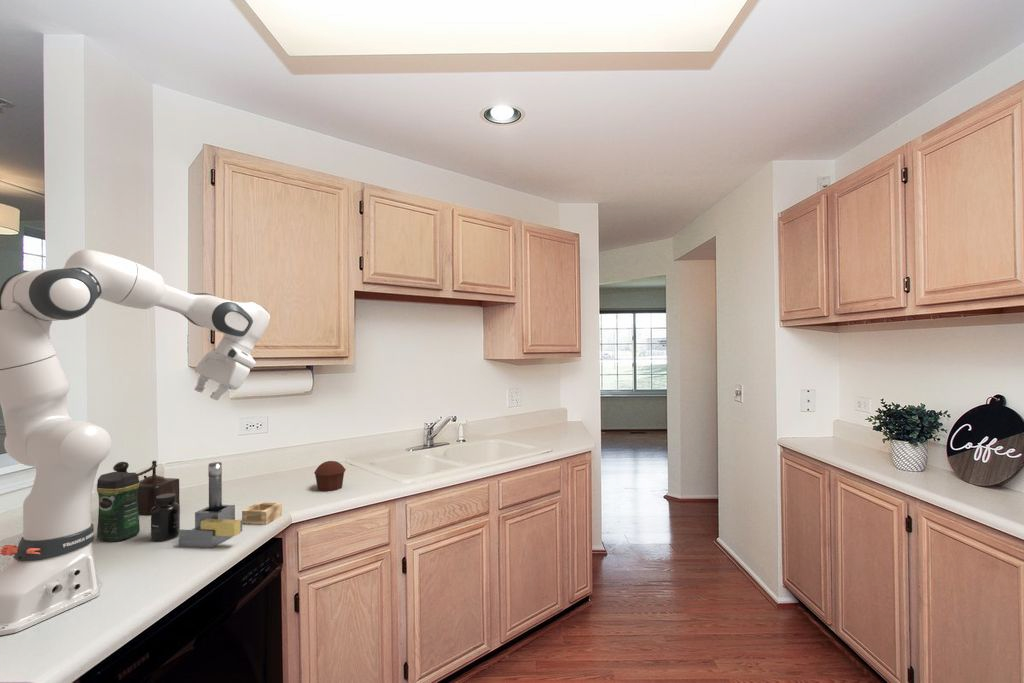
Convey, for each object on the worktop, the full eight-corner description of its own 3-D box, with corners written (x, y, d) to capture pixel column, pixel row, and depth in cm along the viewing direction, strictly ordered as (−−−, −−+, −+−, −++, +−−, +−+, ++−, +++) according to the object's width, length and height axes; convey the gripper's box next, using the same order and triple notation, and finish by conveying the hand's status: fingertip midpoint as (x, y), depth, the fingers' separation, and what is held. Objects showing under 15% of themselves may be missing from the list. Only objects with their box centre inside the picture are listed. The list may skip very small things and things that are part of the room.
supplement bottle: (146, 543, 136) (146, 500, 136) (157, 534, 143) (156, 493, 143) (174, 540, 138) (174, 498, 138) (183, 531, 144) (183, 491, 144)
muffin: (311, 486, 189) (311, 461, 189) (341, 482, 195) (340, 457, 195) (318, 494, 179) (318, 467, 179) (349, 489, 185) (348, 463, 185)
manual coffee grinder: (151, 504, 170) (151, 452, 170) (180, 505, 168) (180, 452, 168) (109, 520, 154) (109, 463, 154) (141, 521, 153) (141, 464, 153)
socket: (212, 548, 132) (212, 518, 132) (178, 546, 134) (178, 517, 134) (242, 531, 144) (241, 504, 144) (211, 529, 146) (210, 503, 146)
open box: (266, 524, 149) (266, 511, 149) (242, 523, 150) (241, 510, 150) (281, 515, 157) (281, 503, 157) (258, 514, 158) (258, 502, 158)
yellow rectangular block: (234, 536, 132) (234, 523, 132) (200, 534, 134) (200, 521, 134) (240, 532, 135) (240, 519, 135) (207, 531, 136) (207, 518, 136)
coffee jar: (145, 532, 144) (145, 469, 144) (119, 543, 136) (118, 476, 136) (118, 530, 146) (118, 468, 146) (90, 541, 138) (90, 475, 138)
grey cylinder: (216, 528, 139) (216, 465, 139) (205, 528, 139) (205, 464, 139) (224, 524, 142) (224, 462, 142) (214, 523, 142) (214, 461, 142)
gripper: (205, 342, 149) (178, 382, 145) (241, 355, 138) (213, 399, 134) (223, 351, 154) (198, 391, 150) (259, 364, 143) (232, 407, 139)
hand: (205, 395), depth 142 cm, fingers open, 8 cm apart
